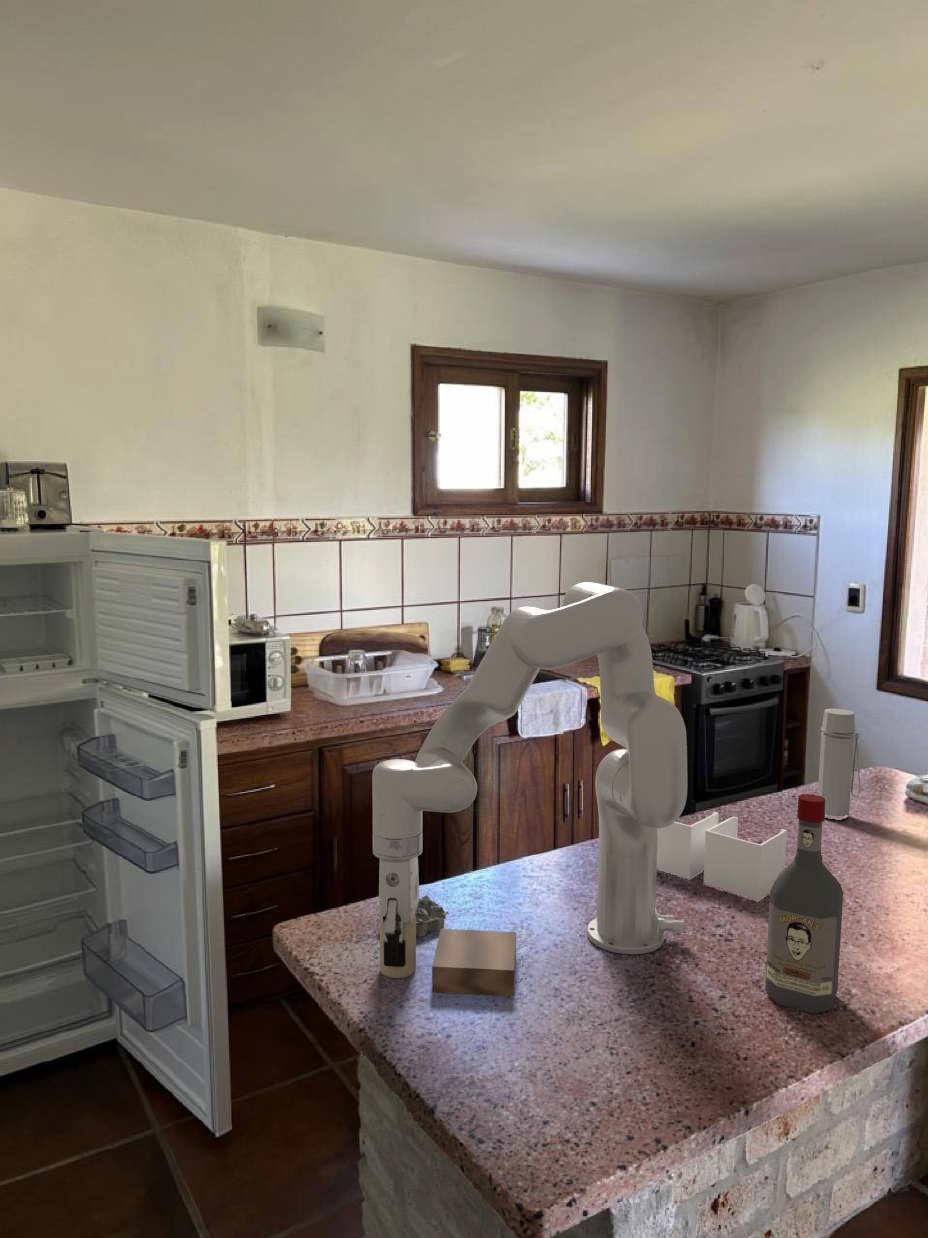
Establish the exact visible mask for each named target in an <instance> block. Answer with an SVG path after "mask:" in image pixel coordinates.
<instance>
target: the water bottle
mask: <svg viewBox="0 0 928 1238" xmlns="http://www.w3.org/2000/svg"><path fill="white" fill-rule="evenodd" d="M822 718H823V719H822V723H821V727H820V730H821V731H820V732H821V734H820V751H819V753H820V754H819V768H818V769H819V770H818V783H817V785H818V788H817V795H818V796H821V797H823V798H825V814H827V815H833V816H845V815H849V816H850V808H851V796H852V797H853V798H856V799H857V798H858V799H859V796H860V793H861V778H860V763H859V749H858V746H859V745H858V740H859V737H860V733H858V732H856V722H855V719H856V718H855V711H852V710H850V709H844V708H826V709H824V711H823V717H822ZM854 739H855V740H854ZM854 741H855V743H854ZM856 759H857V763H856ZM856 764H857V776H858V777H857V778H858V779H857V781H858V789H857V794H856V795H854V793H853V791H854V790H853V789H854V780H855V779H854V777H855V766H856Z"/></svg>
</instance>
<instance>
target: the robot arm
mask: <svg viewBox="0 0 928 1238" xmlns="http://www.w3.org/2000/svg"><path fill="white" fill-rule="evenodd" d="M643 622H644V610H643V607H642V603H641V601H640V600H639V598H638V597H637V596H636V595H635V594H634V593H633V592H631V591H629V590H627V589H624V588H621V587H618V586H613V585H608V584H603V583H598V582H593V581H592V582H590V581H588V582H587V581H585V582H580V583H576V584H574V585H572V586H571V587H570V588H568V590H567V591H566V592H565V594H564V596H563V599H562V607H559V608H556V609H552V610H551V609H550V610H547V609H543V608H539V607H534V606H521V607H517V608H515V609H514V610H512V611H511V612H510V613H509V614H508V615H507V616H506V617H505V618H504V620H503V622H502V623H501V625H500V627H499V629H498V630H497V632H496V634H495V636H494V637H493V640H492V641H491V643H490V645H489V647H487V648H488V649H487V650H486V652H485V654H484V655H483V658H482V659H481V661H480V663H479V665H478V667H477V668H476V670H475V672H474V674H473V676H471V679H470V681H469V682H468V684H467V686H466V687H465V689H464V690H463V691H462V692H461V693H459V695H457V697H456V698H455V699H454V700H453V701H452V702H451V703H450V704H449V706H448V707H447V708H446V709H444V710H443V712H442V713H441V714H440V715H439V717H438V718H437V719H436V721H435V723H434V724H433V726H432V728H431V729H430V731H429V733H428V735H427V736H426V738H425V740H424V741H423V743H422V745H421V747H420V749H419V751H418V752H417V755H416V758H415V761H414V760H409V759H404V758H403V759H400V758H399V759H397V758H395V759H394V758H393V759H387V760H383V761H381V762H379V763H377V764H376V765H375V766H374V768H373V770H372V777H371V778H372V783H371V785H372V790H371V791H372V854H373V855H374V856H375V857H376V858H378V859H379V871H378V874H379V878H378V880H379V881H378V882H379V883H378V906H379V907H378V908H379V909H378V910H379V911H378V912H379V913H378V914H380V917H379V922H380V921H381V922H382V923H385V936H384V965H385V966H392V967H404V966H405V963H406V959H405V940H403V938H404V923H407V924H408V925H409V924H411V923H412V922H413V919H414V916H415V913H416V910H417V907H418V903H419V899H420V883H419V880H420V879H419V858H418V857H419V856H420V855H422V853H423V812H436V813H456V812H457V813H458V812H461V811H463V810H465V809H466V808H468V807H469V806H470V805H472V804H473V802H474V801H475V799H476V796H477V792H478V783H477V781H476V778H475V777H476V776H474V774H473V773H472V771H471V770H470V769H469V768H468V767H467V766H466V765H465V764H464V761H465V759H466V757H467V755H468V753H469V752H470V750H471V748H472V747H473V746H474V743H475V742H476V741H477V740H478V739H479V737H480V736H481V735H482V734H483V733H484V732H485V731H486V730H488V729H489V728H490V727H492V726H494V725H497V724H499V723H502V722H504V721H506V720H509V719H510V718H512V717H513V716H514V715H515V714H516V713H517V712H518V710H519V708H520V706H521V704H522V703H523V701H524V698H525V697H526V695H527V694H528V692H529V689H530V688H531V686H532V685H533V682H534V681H535V679H536V677H537V675H538V673H539V672H540V670H553V669H560V668H562V667H566V666H569V665H573V664H575V663H578V662H581V661H583V660H586V659H589V658H592V657H594V656H596V657H597V661H598V670H599V685H600V688H599V690H600V721H601V722H600V723H601V727H602V729H603V732H604V734H606V736H607V737H608V738H609V739H611V740H612V741H614V742H615V743H617V745H620V746H621V747H623V748H620V749H616V750H613V751H611V752H609V753H608V754H606V755H605V756H604V757H603V758H602V760H601V761H600V762H599V764H598V766H597V769H596V773H595V781H594V782H595V784H594V786H595V795H596V803H597V811H598V832H599V833H598V854H597V855H598V864H597V895H596V896H597V897H596V899H597V900H596V906H597V907H596V917H595V918H593V919H592V920H591V921H590V922H589V923H588V925H587V929H586V930H587V932H586V934H587V938H588V939H589V941H590V942H591V943H593V944H594V945H595V946H597V947H598V948H600V949H602V950H606V951H608V952H612V953H616V954H619V955H620V954H622V955H643V954H648V953H651V952H654V951H656V950H658V949H660V947H662V946H663V945H664V941H665V932H668V933H669V932H672V933H685V921H684V920H683V919H682V920H681V919H680V920H679V919H675V916H674V914H660V912H658V911H657V908H656V905H657V904H656V902H657V901H656V899H657V872H658V871H657V850H658V830H657V828H663V827H667V826H669V825H671V824H672V823H674V822H677V820H678V819H679V818H680V816H681V815H682V813H683V811H684V809H685V806H686V803H687V797H688V745H687V743H688V742H687V729H686V724H685V722H684V718H683V716H682V714H681V712H680V711H679V709H678V708H677V707H676V705H674V704H673V703H672V702H671V701H670V700H668V699H666V698H664V697H663V696H660V695H657V693H656V689H655V678H654V663H653V656H652V655H653V654H652V647H651V644H650V640H649V637H648V635H647V633H646V631H645V628H644V627H643ZM396 917H400V918H401V920H396ZM396 925H400V929H399V931H398V930H396Z"/></svg>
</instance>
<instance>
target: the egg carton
mask: <svg viewBox="0 0 928 1238" xmlns="http://www.w3.org/2000/svg"><path fill="white" fill-rule="evenodd" d="M415 915H416V936H420V937H424V936H426V935H427V932H428V931H437V932H438V931H441V929H444V928H443V925H444V924H445V920H446V918H447V917H446V916H447V915H449V912H448V911H445V910H444V908H443V906H440V905H439V903H437V902H436V901H435V900H432V899H431V898H430V897H429V895H424V896H422V897H421V898H419V903H418V907H417V910H416V913H415ZM377 918H380V914H379V913H378V914H377ZM444 926H445V925H444Z"/></svg>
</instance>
